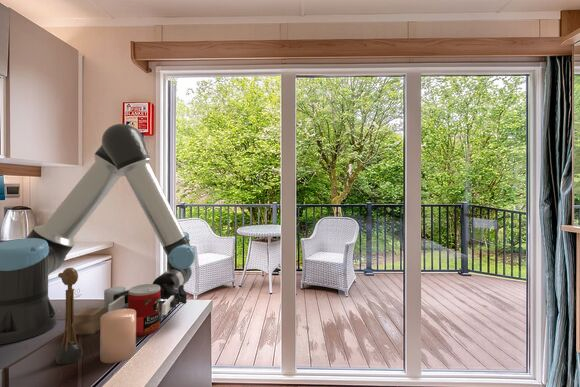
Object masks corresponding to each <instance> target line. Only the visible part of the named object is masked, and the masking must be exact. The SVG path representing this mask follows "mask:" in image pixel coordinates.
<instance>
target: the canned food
mask: <svg viewBox="0 0 580 387" xmlns="http://www.w3.org/2000/svg"><path fill="white" fill-rule="evenodd" d="M128 290H129V291H128V303H127V309H134V310H135V311H136V336H138V337H139V336H147V335H150V334H152V333H155V332H157V331H158V330H160V329H159V328H160V326H161V299H160V298H161V293H160V286H159V285H156V284H153V283H146V284H139V285H138V284H137V285H134V286H132V287H130V288H129V289H128Z"/></svg>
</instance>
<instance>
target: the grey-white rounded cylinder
mask: <svg viewBox="0 0 580 387" xmlns="http://www.w3.org/2000/svg"><path fill="white" fill-rule="evenodd" d="M124 291H127V289H126V287H125V286H112V287H109V288H105V289H104V290H103V307H104V314H105V313H107V312H108V305H109V304H110V303H112V302H113V295H114V294H117V293H121V292H124ZM121 309H126V305H125V306H123V307H122V308H121Z"/></svg>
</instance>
